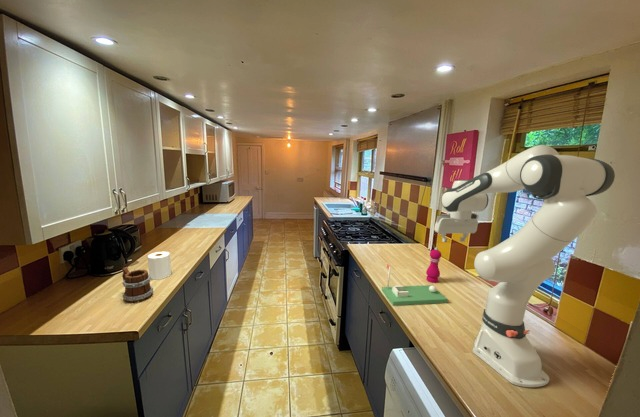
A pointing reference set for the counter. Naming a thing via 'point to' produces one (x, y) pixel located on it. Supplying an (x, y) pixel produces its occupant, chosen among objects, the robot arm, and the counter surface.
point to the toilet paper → (159, 265)
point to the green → (412, 294)
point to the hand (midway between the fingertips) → (453, 241)
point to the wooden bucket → (136, 285)
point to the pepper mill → (433, 266)
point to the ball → (432, 288)
